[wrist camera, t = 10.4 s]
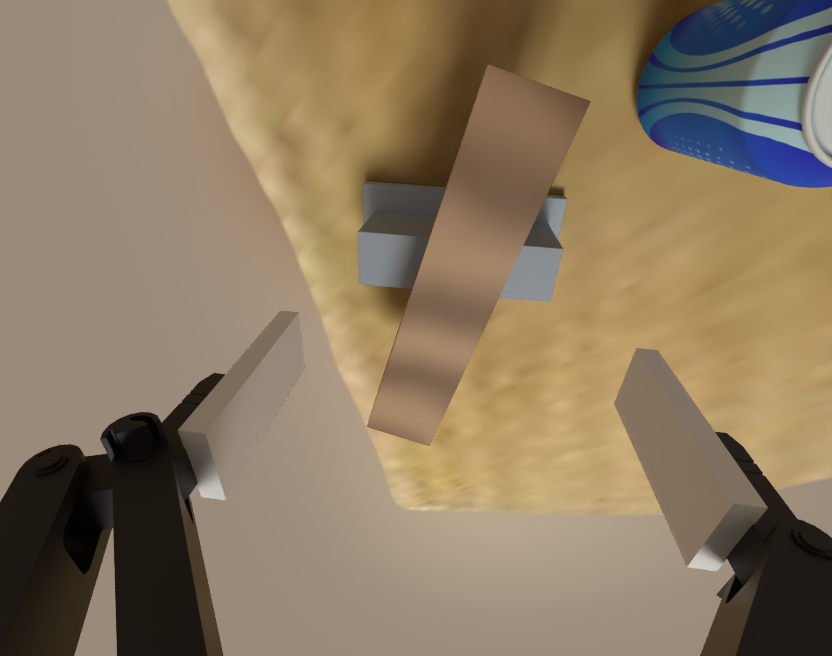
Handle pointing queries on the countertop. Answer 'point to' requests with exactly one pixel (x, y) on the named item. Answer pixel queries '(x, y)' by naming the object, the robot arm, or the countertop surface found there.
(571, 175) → the countertop surface
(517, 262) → the fulcrum block
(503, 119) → the walnut bar
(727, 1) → the beer can
